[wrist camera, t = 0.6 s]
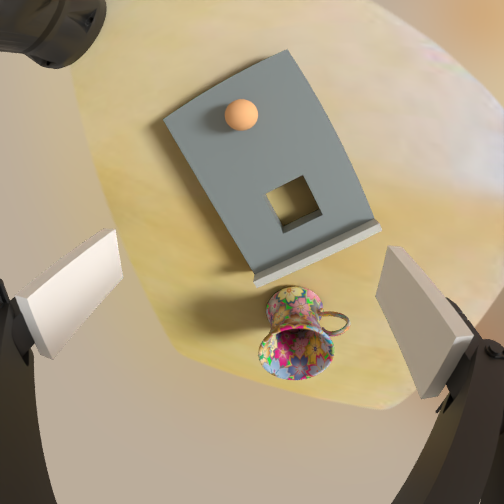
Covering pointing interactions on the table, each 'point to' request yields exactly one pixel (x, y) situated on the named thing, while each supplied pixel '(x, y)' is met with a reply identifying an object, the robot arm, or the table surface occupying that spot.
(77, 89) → the table surface
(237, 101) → the ball
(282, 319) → the mug
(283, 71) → the board
